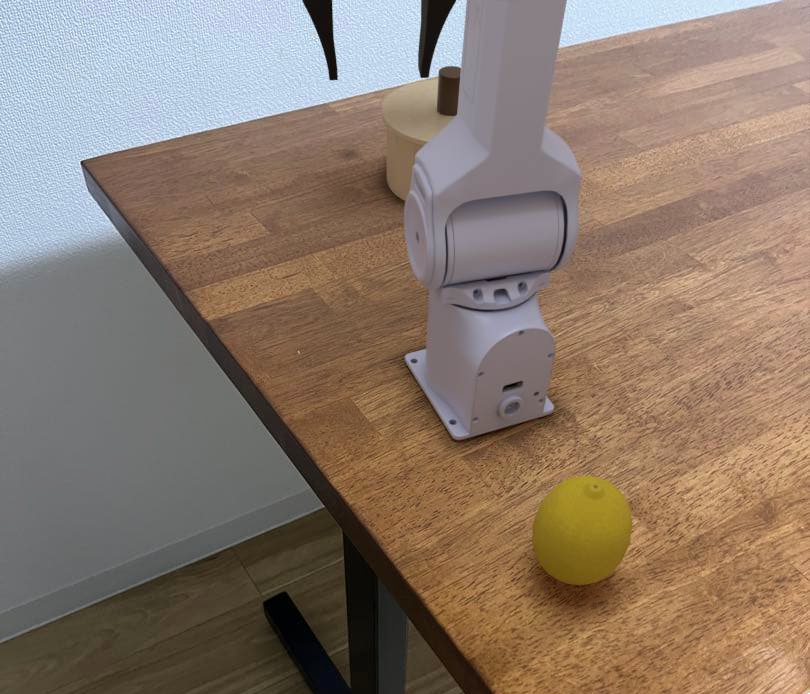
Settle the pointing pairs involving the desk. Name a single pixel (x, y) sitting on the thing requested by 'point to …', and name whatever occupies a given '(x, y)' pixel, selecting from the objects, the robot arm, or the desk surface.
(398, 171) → the pot
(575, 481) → the lemon
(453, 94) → the lid
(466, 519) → the desk surface
